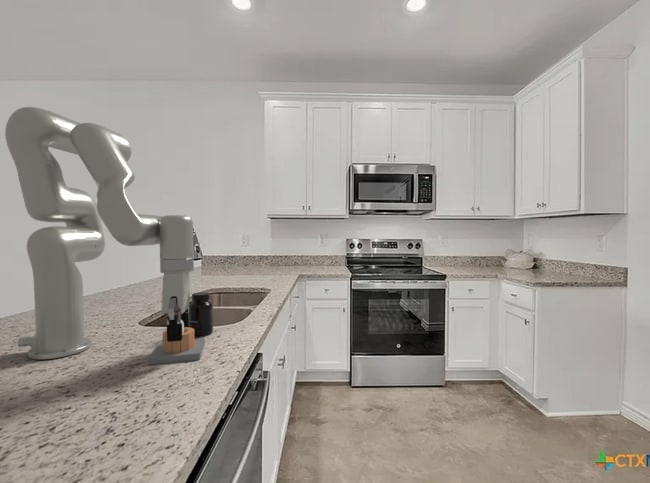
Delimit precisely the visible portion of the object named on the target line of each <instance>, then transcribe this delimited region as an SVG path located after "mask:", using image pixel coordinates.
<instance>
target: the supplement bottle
mask: <svg viewBox="0 0 650 483" xmlns="http://www.w3.org/2000/svg"><path fill="white" fill-rule="evenodd" d="M210 299H211V298H210V292H208V291H207V292H206V291H200V292H198V291H197V292H194V293H192V294H191V301H192V302H190V303H189V306H188V313H189V328H193V329H194V338H200V337H206V336H210V335H211V334H212V333H213V332H214V304H213V303H212V301H210Z"/></svg>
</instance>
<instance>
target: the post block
mask: <svg viewBox="0 0 650 483" xmlns="http://www.w3.org/2000/svg"><path fill="white" fill-rule="evenodd" d="M181 323H182V333H184V323H183V321H182V320H181ZM194 341H195V345H194V347H193V348H192V349H190V350H187V351H183V352H177V353H168V352H165V351H163V341H160V342H159V343H158V344H157V346H155V348H154V350H153V351H152V353H151V354H150V355H149V357H148V360H147V361H148V362H147V363H148V364H147V365H148V366H149V365H150V366H151V365H159V364H160V365H161V364H168V363H169V364H170V363H179V362H188V361H189V362H191V361H198V360H201V358H202V354H203V351H204V347H205V345H206V339H205V338H194Z"/></svg>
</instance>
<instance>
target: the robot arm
mask: <svg viewBox="0 0 650 483" xmlns="http://www.w3.org/2000/svg"><path fill="white" fill-rule="evenodd" d="M4 132H5V134H4V135H5V143H6V146H7V148H8V151H9V153H10V155H11V158H12V160H13V162H14V165H15V167H16V171H17V176H18V182H19V185H20V189H21V194H22V199H23V202H24V206H25V209H26V211H27V214H28V215H29V216H30V217H31V218H32V219H34V220H35V221H39V222H46V223H65V225H66V226H61V225H60V226H47V227H41V228H39V229H37V230H34V232H33V233H31V234H30V235H29V237H28V238H27V242H26V250H27V255H28V256H27V257H28V259H29V262H30V265H31V272H32V277H33V292H34V294H33V295H34V319H35V321H34V322H35V324H34V325H35V335H33V336H29V335H28V336H20V337H19V338H18V343H17V345H18V347H19V348H20V347H29V348H30V349H29V350H28V352H27V357H28V358H29V359H32V360H50V359H58V358H63V357H64V358H65V357H68V356H72V355H76V354H78V353H81V352H84V351H86V350H88V349H90V348H91V346H92V343H93V342H92V341H93V340H92V339H91V338H87V337H85V321H84V320H85V319H84V318H85V316H84V288H83V277H82V274H81V272H80V270H79V268H78V266H77V265H76V263H81V262H89V261H93V260H96V259H98V258H99V257H101V255H102V254H103V253H104V250H105V246H106V243H105V234H104V230H103V226H102V222H103V224H104V226H105V227H106V229H107V231H108V232H109V233H110V235H111V237H112V238H114V240H116V242H118V243H120V244H121V245H124V246H127V247H139V246H140V247H141V246H154V245H159V261H160V262H159V263H160V264H159V267H160V269H159V270H160V271H159V273H161V274H163V277H162V291H161V292H162V294H161V314H162V315H163V316H165V315H167V317H166V318H167V319H166V331H167V341H168V342H172V341H181V340H182V323H181V320H182V321H183V323H184V327H189V313H188V307H189V305H190V303H191V302H190V299H191V298H190V297H191V296H190V295H191V293H190V292H191V291H190V289H191V288H190V286H191V285H190V273H191V272H194V271H195V270H194V269H195V268H194V267H195V264H194V261H195V260H194V258H195V257H194V221H193V219H192V218H191V216H187V215H180V214H179V215H178V214H177V215H163V216H159V215H154V214H153V215H152V214H141V213H136V211H135V210H134V207H132V205H131V204H130V202H129V200H128V198H127V195H126V193H125V189H126V188H128V187H129V186H131V185H132V184H133V182H134V181H135V178H136V176H135V173H134V171H133V170H132V168H131V167H130V164H129V163H128V161H129V160H130V158H131V156H132V146H131V144H130V142H129V141H128V139H127V138H126V137H125V136H123V134H121V133H119V132H116V131H113V130H112V129H109V128H107V127H105V126H102V125H100V124H96V123H92V122H82V123H80V122H78V121H75V120H72V119H70V118H68V117H65V116H62V115H60V114H58V113H55V112H53V111H50V110H47V109H44V108H40V107H36V106H35V107H33V106H25V107H21V108H20V107H19V108H18V109H15V111H14V112H12V113H11V115H10V116H9V118H8V120H7V122H6V125H5V130H4ZM49 148H52V149H54V150H55V149H56V150H59V151H62V152H66V153H70V154H73V155H77V156H79V158H80V159H81V161H82V163H83V164H84V166H85V168H86V170H87V171H88V173H89V174H90V176H91V178H92V179H93V181H94V182H95V184H96V186H97V191H96V201H95V199H94V198H93V197H92V196H91V195H90V193H88V192H86V191H84V190H83V189H79V188H76V187H69V186H67V184H66V182H65V180H64V177H63V171H62V168H61V165H60V164H59V162H58V161H57V159H56V158H55V156H54V155H53V154H52V153H51V151H50V149H49ZM101 221H102V222H101Z"/></svg>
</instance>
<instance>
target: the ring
mask: <svg viewBox="0 0 650 483" xmlns="http://www.w3.org/2000/svg"><path fill="white" fill-rule="evenodd" d="M194 339H195V337H194V329H193V328H189V327H184V333H182V340H181V341H172V342H168V341H167V330H165V331H163V332H162V342H163V351H165V352H168V353H177V352H183V351H187V350H190V349H192V348H193V347H194V345H195V341H194Z"/></svg>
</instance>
